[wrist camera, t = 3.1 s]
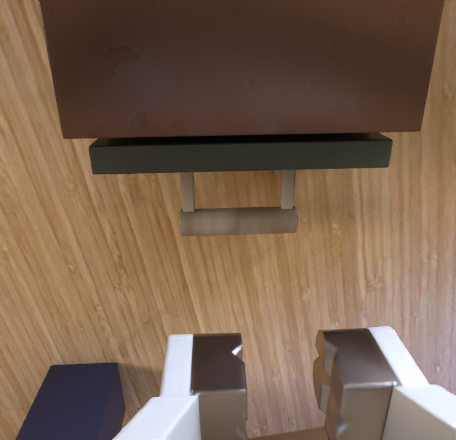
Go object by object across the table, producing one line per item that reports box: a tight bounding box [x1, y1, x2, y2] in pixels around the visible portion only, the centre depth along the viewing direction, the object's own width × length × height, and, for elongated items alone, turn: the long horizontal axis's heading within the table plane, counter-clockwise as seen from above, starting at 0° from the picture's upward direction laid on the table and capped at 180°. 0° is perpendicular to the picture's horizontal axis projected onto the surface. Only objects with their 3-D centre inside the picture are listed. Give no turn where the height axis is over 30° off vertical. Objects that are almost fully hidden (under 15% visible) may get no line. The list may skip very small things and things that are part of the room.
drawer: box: [89, 132, 393, 236], centre depth 18 cm, size 20×12×7 cm, turn 1°
